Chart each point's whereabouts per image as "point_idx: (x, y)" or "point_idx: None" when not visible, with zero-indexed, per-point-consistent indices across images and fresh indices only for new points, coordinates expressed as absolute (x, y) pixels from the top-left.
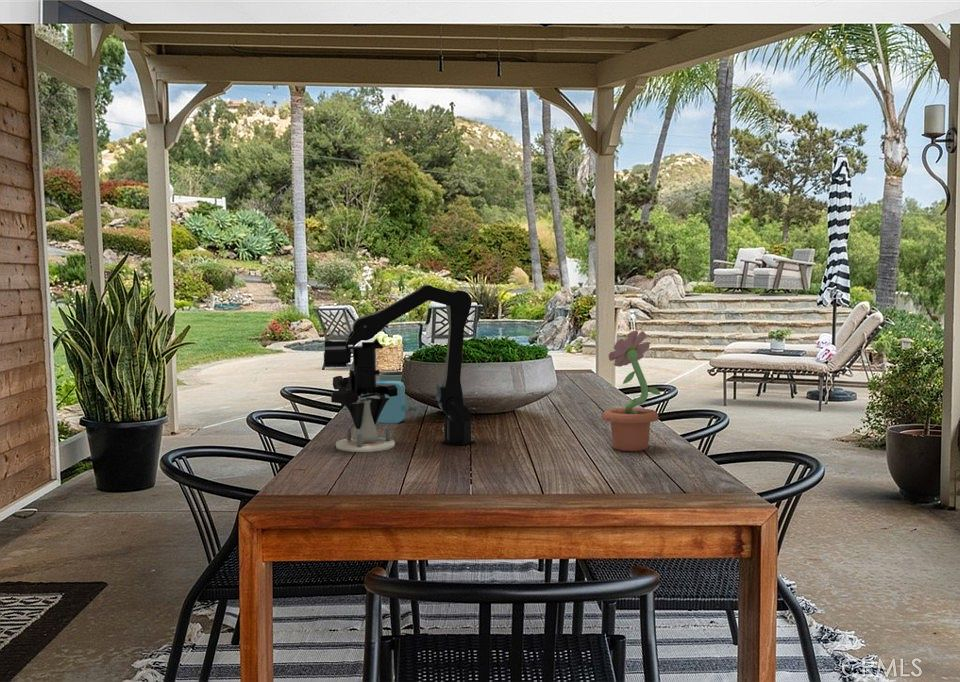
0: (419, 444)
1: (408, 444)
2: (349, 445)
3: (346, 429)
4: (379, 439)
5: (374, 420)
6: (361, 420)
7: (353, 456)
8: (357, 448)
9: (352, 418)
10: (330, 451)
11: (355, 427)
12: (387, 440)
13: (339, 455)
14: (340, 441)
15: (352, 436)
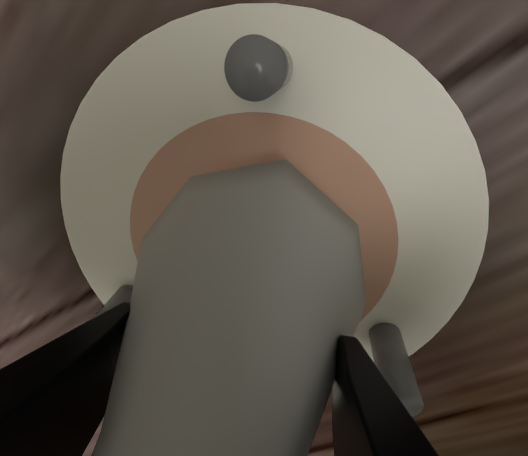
0: (451, 430)
1: (429, 394)
2: (115, 226)
3: (234, 46)
4: (381, 284)
5: (335, 418)
6: (90, 429)
7: (46, 322)
8: (104, 303)
9: (8, 367)
10: (11, 150)
11: (156, 268)
12: (369, 340)
13: (3, 260)
14: (165, 61)
15: (172, 204)
